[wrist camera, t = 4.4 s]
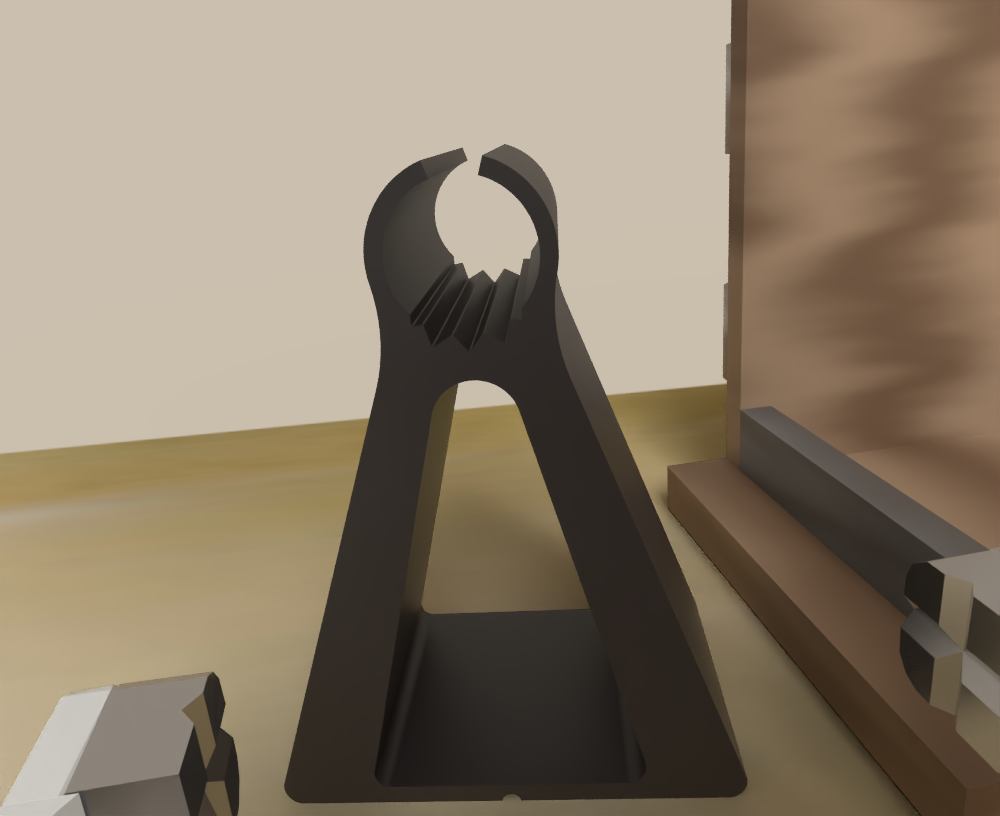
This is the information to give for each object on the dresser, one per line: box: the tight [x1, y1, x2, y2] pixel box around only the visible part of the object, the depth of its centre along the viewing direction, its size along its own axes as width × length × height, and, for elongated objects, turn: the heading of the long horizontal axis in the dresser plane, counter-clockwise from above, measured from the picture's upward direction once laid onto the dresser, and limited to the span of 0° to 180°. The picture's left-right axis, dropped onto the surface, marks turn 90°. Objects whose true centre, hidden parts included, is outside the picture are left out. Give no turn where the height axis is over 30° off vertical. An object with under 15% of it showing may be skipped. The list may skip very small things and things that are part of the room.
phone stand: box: [284, 144, 747, 803], centre depth 17 cm, size 9×6×12 cm, turn 86°
